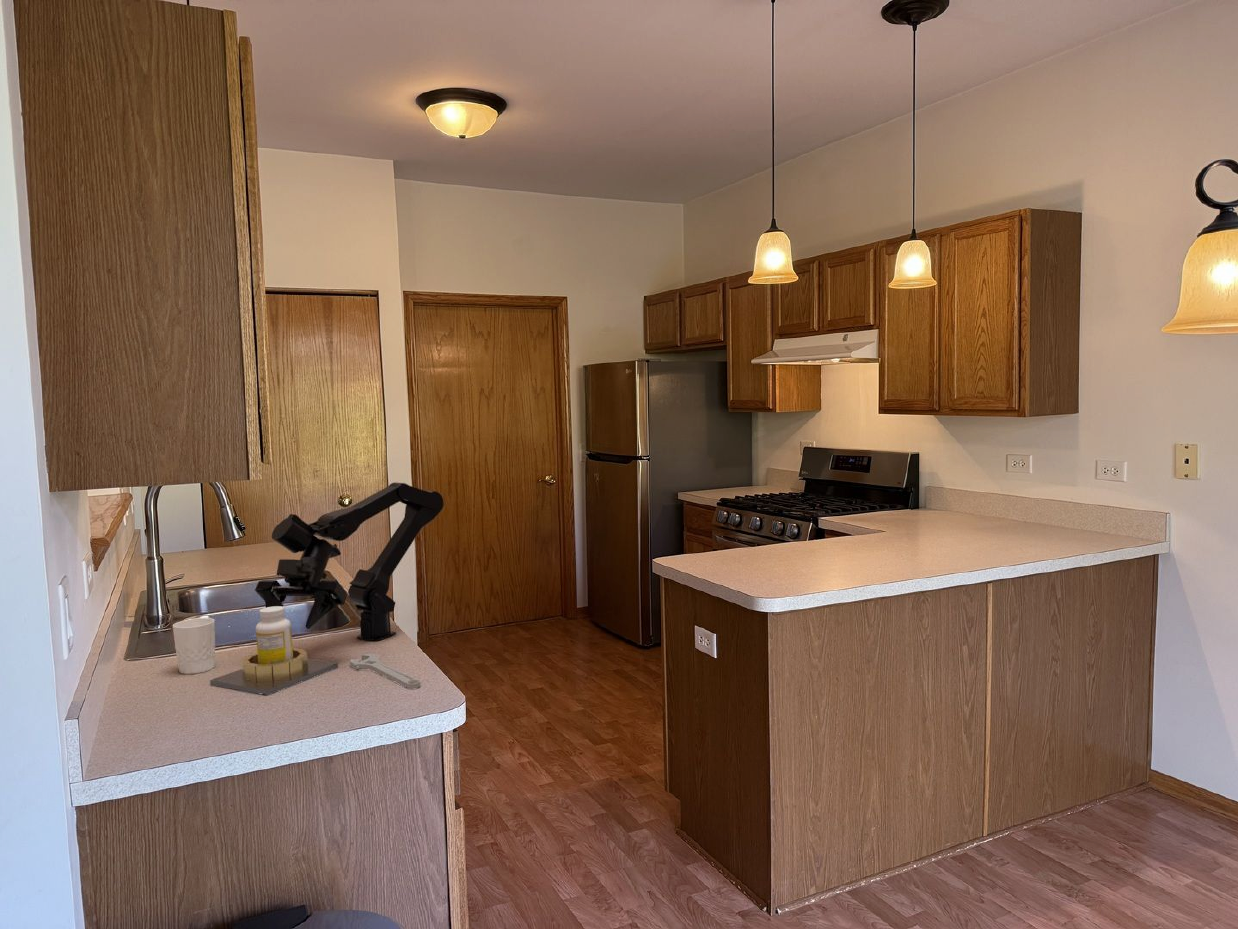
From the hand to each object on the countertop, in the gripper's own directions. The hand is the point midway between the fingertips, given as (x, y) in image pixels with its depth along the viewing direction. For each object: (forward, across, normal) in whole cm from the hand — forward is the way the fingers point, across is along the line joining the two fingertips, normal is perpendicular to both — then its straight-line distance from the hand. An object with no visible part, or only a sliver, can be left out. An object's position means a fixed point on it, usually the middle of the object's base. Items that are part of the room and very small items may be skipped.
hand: (287, 627), depth 177 cm
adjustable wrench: (+8, +22, +6) cm, 24 cm away
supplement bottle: (+9, 0, +2) cm, 9 cm away
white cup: (+8, -20, +5) cm, 22 cm away
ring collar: (+10, 0, +3) cm, 10 cm away
